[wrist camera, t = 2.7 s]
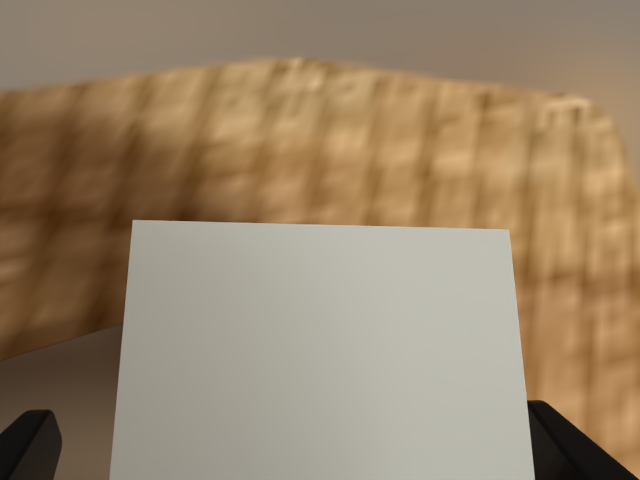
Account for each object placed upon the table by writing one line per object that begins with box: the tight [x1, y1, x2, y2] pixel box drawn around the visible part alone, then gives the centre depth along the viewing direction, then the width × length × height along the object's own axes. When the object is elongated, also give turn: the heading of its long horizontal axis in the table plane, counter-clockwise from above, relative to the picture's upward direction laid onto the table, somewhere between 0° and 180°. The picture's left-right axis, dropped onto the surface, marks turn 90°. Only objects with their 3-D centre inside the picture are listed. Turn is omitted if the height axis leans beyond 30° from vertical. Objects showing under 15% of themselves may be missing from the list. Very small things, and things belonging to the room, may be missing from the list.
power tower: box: [109, 220, 535, 480], centre depth 11 cm, size 5×4×12 cm
